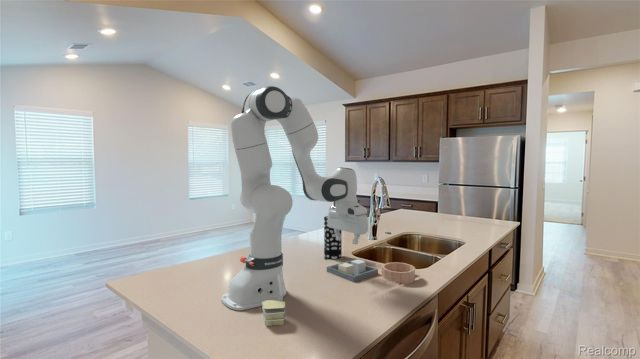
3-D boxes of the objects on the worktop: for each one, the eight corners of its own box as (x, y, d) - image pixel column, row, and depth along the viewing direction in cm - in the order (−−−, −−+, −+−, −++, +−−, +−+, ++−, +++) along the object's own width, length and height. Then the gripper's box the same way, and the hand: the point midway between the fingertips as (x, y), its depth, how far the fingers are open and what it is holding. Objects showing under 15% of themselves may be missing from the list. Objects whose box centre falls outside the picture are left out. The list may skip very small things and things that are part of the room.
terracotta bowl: (401, 286, 123) (401, 275, 123) (375, 277, 133) (375, 266, 133) (421, 279, 131) (421, 267, 131) (395, 270, 141) (395, 260, 141)
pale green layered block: (291, 315, 102) (291, 297, 102) (289, 330, 93) (289, 311, 93) (259, 315, 102) (258, 298, 101) (253, 330, 93) (253, 311, 93)
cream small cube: (345, 277, 131) (345, 267, 131) (338, 274, 135) (338, 264, 135) (353, 274, 134) (353, 265, 134) (346, 272, 138) (346, 262, 137)
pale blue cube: (358, 273, 136) (358, 263, 136) (350, 270, 139) (350, 261, 139) (365, 271, 139) (365, 261, 138) (357, 268, 142) (357, 259, 142)
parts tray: (353, 284, 126) (353, 277, 126) (326, 273, 138) (326, 266, 138) (378, 275, 135) (378, 269, 135) (350, 266, 147) (350, 260, 147)
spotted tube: (335, 262, 154) (334, 219, 152) (320, 259, 159) (320, 217, 157) (344, 257, 160) (344, 216, 159) (330, 255, 165) (330, 215, 164)
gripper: (323, 206, 139) (324, 238, 140) (359, 211, 123) (359, 248, 124) (334, 204, 143) (335, 235, 144) (370, 209, 127) (370, 245, 128)
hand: (346, 241), depth 134 cm, fingers open, 8 cm apart
